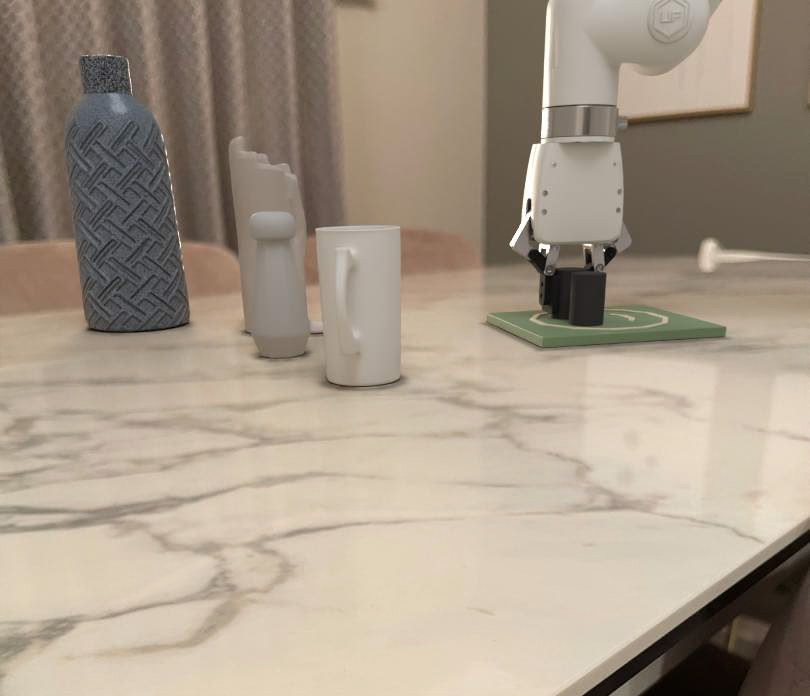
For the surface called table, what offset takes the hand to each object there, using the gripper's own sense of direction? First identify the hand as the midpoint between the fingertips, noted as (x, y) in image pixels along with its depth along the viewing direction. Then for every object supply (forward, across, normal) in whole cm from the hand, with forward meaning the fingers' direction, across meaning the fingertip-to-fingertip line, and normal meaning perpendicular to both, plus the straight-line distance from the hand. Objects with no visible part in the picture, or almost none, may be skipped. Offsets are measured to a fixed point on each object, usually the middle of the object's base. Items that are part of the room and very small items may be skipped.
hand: (567, 309), depth 94 cm
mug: (+2, +27, +22) cm, 35 cm away
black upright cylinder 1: (+1, 0, 0) cm, 1 cm away
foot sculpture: (+2, +28, -8) cm, 30 cm away
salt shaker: (+2, +32, +7) cm, 33 cm away
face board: (+2, -3, +3) cm, 4 cm away
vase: (+2, +47, -18) cm, 51 cm away
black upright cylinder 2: (+1, 0, +5) cm, 5 cm away
